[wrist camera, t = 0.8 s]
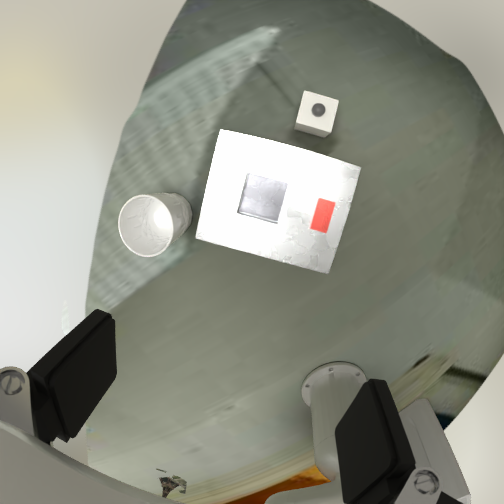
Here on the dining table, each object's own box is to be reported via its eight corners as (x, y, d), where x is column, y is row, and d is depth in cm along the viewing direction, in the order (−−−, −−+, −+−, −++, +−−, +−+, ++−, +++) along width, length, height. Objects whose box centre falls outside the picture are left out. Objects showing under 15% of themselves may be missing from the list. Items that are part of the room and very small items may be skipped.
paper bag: (453, 394, 49) (499, 480, 22) (428, 435, 53) (459, 516, 26) (385, 401, 50) (419, 510, 23) (364, 442, 54) (382, 539, 27)
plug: (331, 110, 38) (340, 98, 31) (324, 137, 39) (332, 131, 32) (301, 101, 38) (304, 87, 31) (294, 129, 39) (296, 120, 32)
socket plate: (356, 167, 39) (362, 167, 36) (325, 268, 44) (329, 276, 41) (223, 131, 40) (219, 128, 37) (199, 234, 44) (193, 239, 41)
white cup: (182, 180, 42) (155, 183, 33) (205, 226, 44) (184, 241, 34) (142, 203, 44) (109, 212, 34) (163, 246, 46) (135, 266, 36)
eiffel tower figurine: (186, 493, 70) (177, 522, 57) (157, 484, 70) (146, 513, 57) (187, 476, 66) (177, 509, 53) (155, 466, 66) (142, 498, 53)
